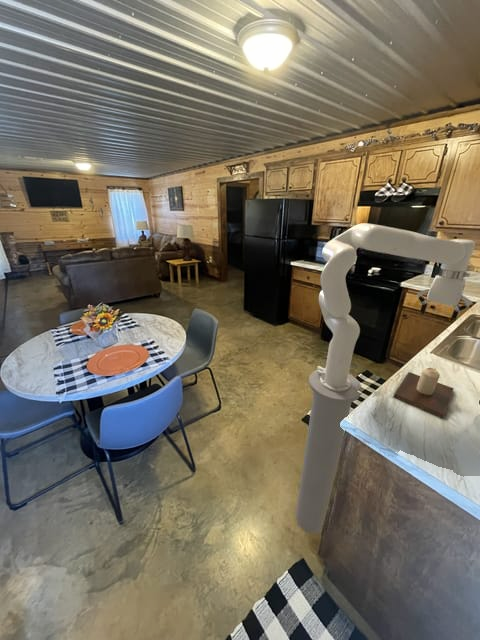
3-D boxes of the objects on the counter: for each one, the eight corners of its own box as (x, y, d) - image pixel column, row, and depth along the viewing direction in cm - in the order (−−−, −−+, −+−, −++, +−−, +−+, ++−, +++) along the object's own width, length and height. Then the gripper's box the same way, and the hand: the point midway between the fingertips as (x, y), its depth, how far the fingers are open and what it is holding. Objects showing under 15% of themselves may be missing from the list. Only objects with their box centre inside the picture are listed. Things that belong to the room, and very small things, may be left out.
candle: (430, 397, 100) (438, 375, 96) (414, 390, 103) (421, 369, 99) (434, 391, 103) (442, 369, 99) (418, 384, 107) (425, 363, 103)
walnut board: (393, 397, 103) (394, 393, 102) (407, 375, 116) (408, 371, 115) (442, 418, 92) (444, 414, 92) (452, 391, 105) (453, 388, 105)
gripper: (482, 276, 94) (465, 319, 101) (426, 268, 105) (414, 308, 112) (480, 280, 89) (463, 325, 96) (421, 272, 100) (409, 313, 107)
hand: (437, 316), depth 104 cm, fingers open, 9 cm apart
